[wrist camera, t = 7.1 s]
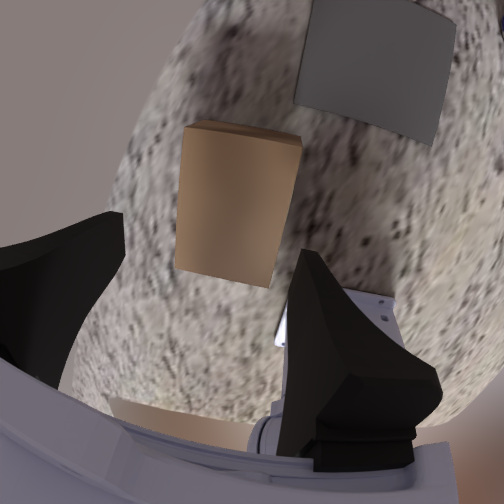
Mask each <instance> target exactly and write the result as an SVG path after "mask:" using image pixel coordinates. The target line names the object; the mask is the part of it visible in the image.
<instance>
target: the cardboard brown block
mask: <svg viewBox="0 0 504 504" xmlns="http://www.w3.org/2000/svg"><path fill="white" fill-rule="evenodd" d="M302 150H303V146H302V141H301V137H300V136H296V135H292V134H287V133H282V132H277V131H272V130H267V129H262V128H257V127H251V126H245V125H239V124H233V123H226V122H219V121H212V120H202V121H199V122H197V123H194V124H191V125H189V126H186V127H184V136H183V145H182V155H181V166H180V178H179V191H178V205H177V223H176V245H175V268H177V269H181V270H185V271H190V272H194V273H199V274H203V275H208V276H212V277H217V278H221V279H226V280H230V281H235V282H240V283H244V284H249V285H254V286H259V287H264V288H269V285H270V281H271V277H272V274H273V270H274V266H275V262H276V258H277V254H278V250H279V246H280V242H281V238H282V234H283V230H284V226H285V222H286V218H287V213H288V209H289V205H290V201H291V197H292V193H293V188H294V184H295V180H296V176H297V171H298V167H299V163H300V158H301V154H302Z"/></svg>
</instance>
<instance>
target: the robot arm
mask: <svg viewBox="0 0 504 504" xmlns="http://www.w3.org/2000/svg"><path fill="white" fill-rule="evenodd" d="M125 256H126V254H125V240H124V224H123V213H119V212H113V211H109V212H105V213H102V214H99V215H96V216H93V217H91V218H88V219H86V220H83V221H81V222H79V223H76V224H74V225H71V226H69V227H66V228H64V229H61V230H58V231H56V232H53V233H51V234H48V235H45V236H42V237H39V238H36V239H33V240H30V241H27V242H23V243H19V244H15V245H11V246H7V247H2V248H0V504H459V500H458V492H457V485H456V478H455V472H454V466H453V460H452V455H451V450H450V445H449V442H440V443H433V444H426V445H421V446H418V447H415V448H413V445H412V440H414V439H415V438H416V436H417V434H416V429H415V427H416V426H417V425H418V424H419V423H420V422H422V421H423V420H424V419H425V418H426V417H427V416H429V415H430V414H431V413H432V412H433V411H434V410H435V409H436V408H437V407H438V405H439V404H440V402H441V400H442V397H443V391H442V388H441V385H440V382H439V378H438V375H437V372H436V369H435V368H434V367H432V366H431V365H429V364H427V363H426V362H424V361H422V360H421V359H419V358H417V357H416V356H414V355H413V354H411V353H410V352H408V351H407V350H406V349H405V346H404V343H403V340H402V337H401V334H400V331H399V327H398V324H397V321H396V318H395V316H394V313H393V308H394V307H395V305H396V301H395V299H394V298H392V297H387V296H382V295H376V294H371V293H366V292H361V291H356V290H350V289H345V288H342V287H341V286H340V284H339V283H338V282H337V280H336V279H335V277H334V276H333V275H332V273H331V272H330V270H329V269H328V267H327V266H326V264H325V263H324V261H323V260H322V258H321V257H320V255H319V254H318V252H315V251H311V250H306V249H301V252H300V255H299V259H298V262H297V265H296V269H295V272H294V275H293V278H292V282H291V285H290V288H289V293H288V300H287V303H286V306H285V309H284V312H283V315H282V318H281V321H280V324H279V327H278V330H277V333H276V336H275V339H274V344H275V345H276V346H280V347H285V349H284V365H283V380H282V394H281V399H280V400H278V401H274V402H272V404H271V414H270V416H265V417H263V418H261V419H260V420H258V422H257V423H256V424H255V426H254V428H253V430H252V433H251V435H250V437H249V441H248V446H247V452H243V451H236V450H231V449H225V448H220V447H215V446H210V445H206V444H201V443H197V442H193V441H188V440H184V439H180V438H177V437H173V436H169V435H165V434H162V433H159V432H155V431H152V430H149V429H146V428H143V427H140V426H137V425H134V424H131V423H128V422H125V421H122V420H120V419H117V418H114V417H112V416H109V415H107V414H104V413H102V412H100V411H98V410H96V409H94V408H92V407H90V406H88V405H87V404H85V403H83V402H81V401H79V400H77V399H75V398H73V397H71V396H68V395H66V394H64V393H62V392H60V391H58V386H59V383H60V379H61V375H62V372H63V369H64V366H65V364H66V361H67V358H68V355H69V352H70V350H71V348H72V345H73V343H74V341H75V338H76V336H77V334H78V332H79V330H80V328H81V326H82V324H83V322H84V320H85V318H86V316H87V315H88V313H89V312H90V310H91V309H92V307H93V306H94V304H95V303H96V301H97V300H98V298H99V297H100V296H101V294H102V293H103V291H104V290H105V289H106V287H107V286H108V284H109V283H110V281H111V280H112V279H113V277H114V276H115V274H116V273H117V271H118V269H119V267H120V265H121V263H122V261H123V259H124V258H125ZM381 300H383V301H382V302H379V301H381ZM283 342H285V343H283Z"/></svg>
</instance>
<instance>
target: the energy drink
mask: <svg viewBox="0 0 504 504" xmlns="http://www.w3.org/2000/svg"><path fill="white" fill-rule="evenodd" d="M501 28H502V35H503V38H504V15H503V18H502V23H501Z"/></svg>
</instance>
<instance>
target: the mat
mask: <svg viewBox="0 0 504 504" xmlns="http://www.w3.org/2000/svg"><path fill="white" fill-rule="evenodd" d="M456 26H457V25H456V24H455V23H453V22H451V21H449V20H447V19H445V18H444V17H442V16H440V15H438V14H436V13H434V12H432V11H430V10H428V9H426V8H423V7H421V6H419V5H417V4H415V3H412V2H410V1H408V0H314V3H313V9H312V14H311V19H310V24H309V29H308V34H307V39H306V44H305V49H304V54H303V59H302V64H301V69H300V74H299V78H298V83H297V88H296V93H295V98H294V103H293V104H298V105H302V106H307V107H311V108H315V109H319V110H323V111H327V112H331V113H335V114H338V115H342V116H345V117H349V118H352V119H356V120H359V121H362V122H365V123H369V124H372V125H375V126H378V127H381V128H384V129H387V130H389V131H392V132H395V133H398V134H401V135H403V136H406V137H409V138H411V139H414V140H416V141H419V142H421V143H424V144H426V145H429V146H431V147H432V144H433V141H434V137H435V134H436V130H437V126H438V122H439V118H440V114H441V110H442V106H443V102H444V98H445V93H446V88H447V83H448V78H449V73H450V68H451V62H452V56H453V49H454V42H455V34H456Z"/></svg>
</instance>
